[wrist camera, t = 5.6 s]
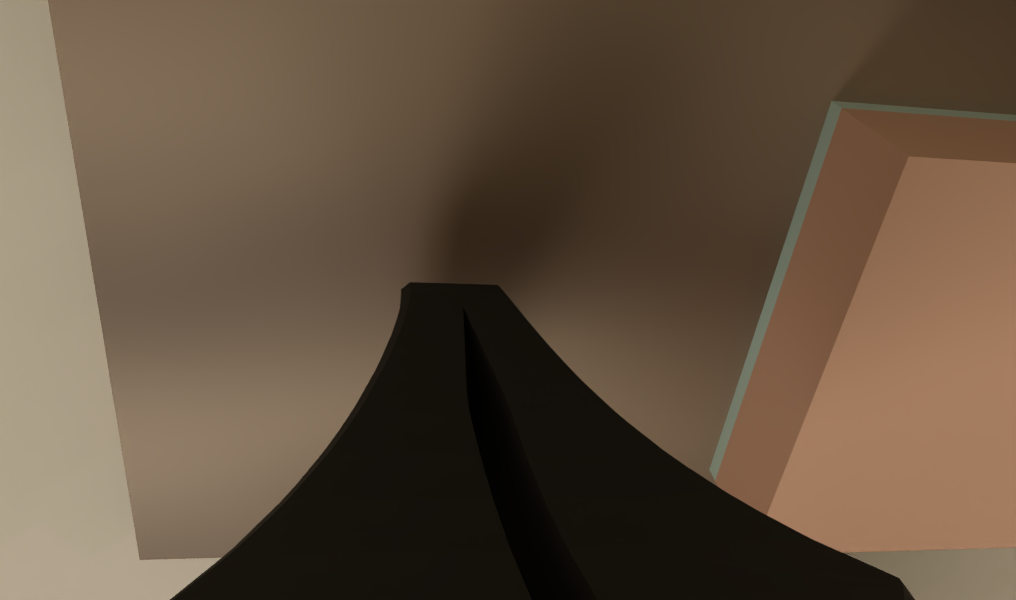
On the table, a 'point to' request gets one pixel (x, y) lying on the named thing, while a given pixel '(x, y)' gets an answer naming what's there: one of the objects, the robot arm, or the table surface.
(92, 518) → the table surface
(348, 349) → the board
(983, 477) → the tile
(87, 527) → the table surface
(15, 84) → the table surface
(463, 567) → the robot arm
